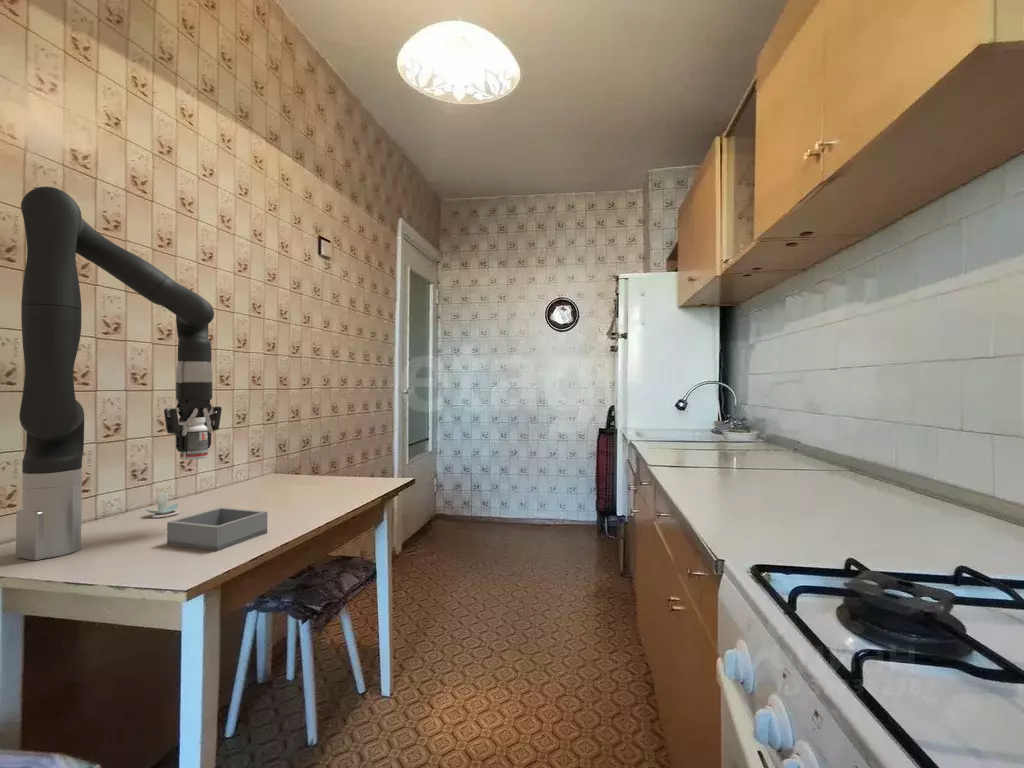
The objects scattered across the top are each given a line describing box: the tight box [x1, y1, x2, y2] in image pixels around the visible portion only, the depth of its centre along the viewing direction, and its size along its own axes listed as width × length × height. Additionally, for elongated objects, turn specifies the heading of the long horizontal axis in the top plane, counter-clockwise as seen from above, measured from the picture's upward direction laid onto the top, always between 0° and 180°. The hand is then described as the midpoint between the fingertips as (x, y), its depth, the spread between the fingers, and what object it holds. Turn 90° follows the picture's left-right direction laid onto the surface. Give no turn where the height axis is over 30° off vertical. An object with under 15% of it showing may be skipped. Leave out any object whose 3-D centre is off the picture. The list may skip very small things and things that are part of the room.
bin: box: [166, 507, 268, 552], centre depth 115 cm, size 14×14×5 cm
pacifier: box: [145, 491, 180, 519], centre depth 135 cm, size 7×6×6 cm
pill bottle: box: [179, 417, 209, 461], centre depth 122 cm, size 6×6×10 cm
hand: (193, 449), depth 122 cm, fingers closed on pill bottle, 5 cm apart
